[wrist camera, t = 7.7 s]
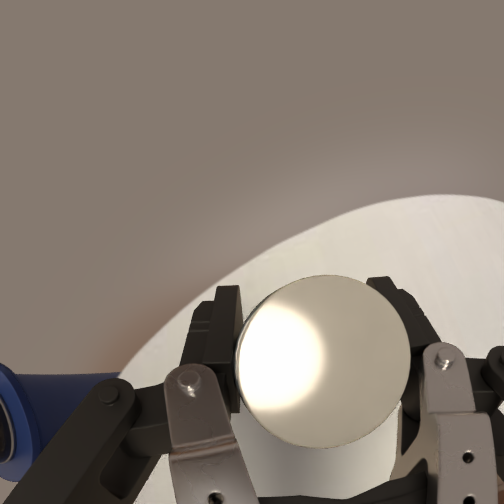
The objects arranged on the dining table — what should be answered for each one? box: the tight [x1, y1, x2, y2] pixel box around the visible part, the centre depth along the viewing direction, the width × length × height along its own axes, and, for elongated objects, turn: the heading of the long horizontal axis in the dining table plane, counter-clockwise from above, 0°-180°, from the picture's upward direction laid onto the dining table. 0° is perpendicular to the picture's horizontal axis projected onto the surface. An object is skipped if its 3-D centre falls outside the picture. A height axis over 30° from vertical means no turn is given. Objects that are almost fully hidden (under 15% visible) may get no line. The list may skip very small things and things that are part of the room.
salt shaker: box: [234, 275, 411, 449], centre depth 10 cm, size 4×4×8 cm
